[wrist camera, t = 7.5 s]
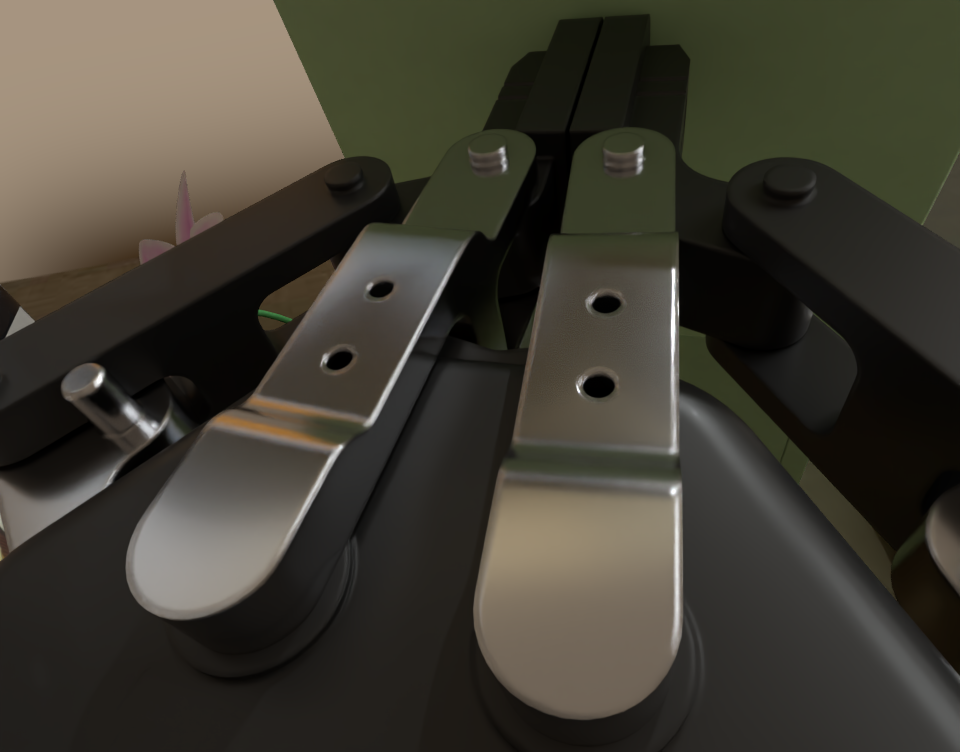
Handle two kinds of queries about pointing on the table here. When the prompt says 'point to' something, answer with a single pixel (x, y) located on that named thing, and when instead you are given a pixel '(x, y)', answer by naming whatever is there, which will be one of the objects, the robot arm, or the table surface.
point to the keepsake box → (737, 401)
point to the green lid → (711, 89)
